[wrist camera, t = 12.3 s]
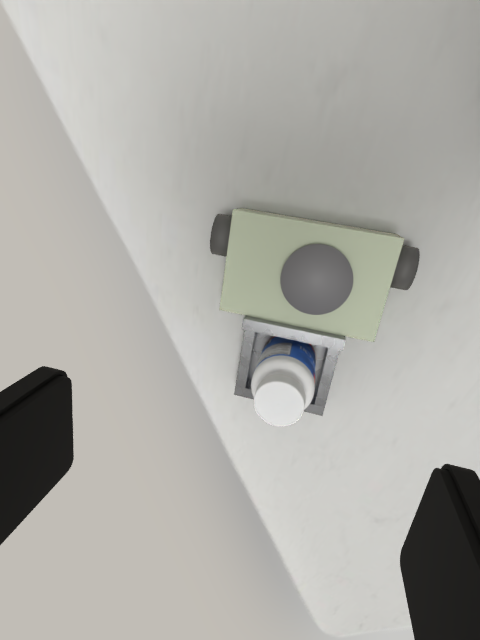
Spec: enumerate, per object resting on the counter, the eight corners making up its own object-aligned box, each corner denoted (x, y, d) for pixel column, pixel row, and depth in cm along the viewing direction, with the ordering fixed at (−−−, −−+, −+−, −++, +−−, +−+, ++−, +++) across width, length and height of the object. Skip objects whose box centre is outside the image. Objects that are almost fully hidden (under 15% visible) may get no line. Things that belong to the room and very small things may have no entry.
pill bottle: (323, 372, 38) (323, 429, 29) (272, 385, 40) (258, 442, 31) (306, 323, 37) (301, 366, 28) (254, 338, 38) (234, 383, 29)
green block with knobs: (415, 237, 33) (427, 243, 29) (386, 332, 36) (393, 348, 32) (224, 205, 35) (212, 206, 31) (212, 296, 38) (200, 308, 34)
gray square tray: (342, 323, 36) (345, 340, 32) (322, 402, 40) (322, 427, 35) (252, 304, 38) (243, 318, 34) (239, 383, 41) (229, 404, 37)
